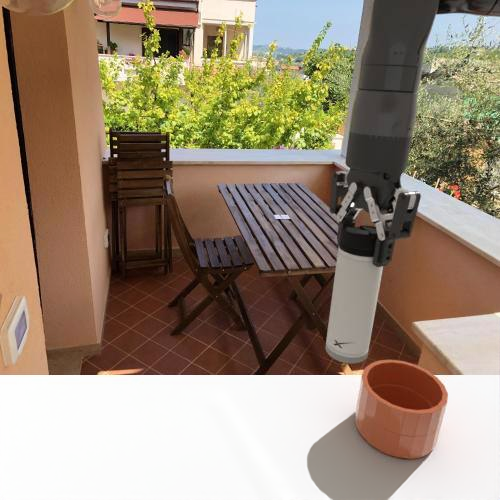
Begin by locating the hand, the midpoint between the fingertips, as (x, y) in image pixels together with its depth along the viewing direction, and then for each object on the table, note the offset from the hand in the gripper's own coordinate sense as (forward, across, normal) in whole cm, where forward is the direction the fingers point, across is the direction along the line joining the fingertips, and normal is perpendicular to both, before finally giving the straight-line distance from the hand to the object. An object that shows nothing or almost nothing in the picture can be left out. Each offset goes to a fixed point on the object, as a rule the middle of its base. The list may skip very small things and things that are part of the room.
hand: (361, 255), depth 58 cm
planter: (+31, -4, -9) cm, 32 cm away
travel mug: (+16, 0, 0) cm, 16 cm away
